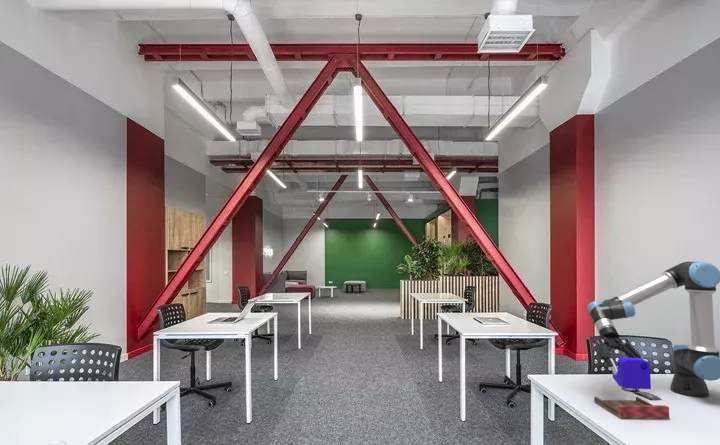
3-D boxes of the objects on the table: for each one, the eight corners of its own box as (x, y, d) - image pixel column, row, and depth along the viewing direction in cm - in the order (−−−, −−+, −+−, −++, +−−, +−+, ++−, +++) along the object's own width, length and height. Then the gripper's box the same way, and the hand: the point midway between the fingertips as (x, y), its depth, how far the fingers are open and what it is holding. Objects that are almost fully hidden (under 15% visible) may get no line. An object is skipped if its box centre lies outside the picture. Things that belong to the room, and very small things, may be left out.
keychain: (648, 401, 199) (648, 397, 199) (617, 388, 218) (617, 384, 218) (663, 400, 200) (663, 396, 200) (630, 388, 219) (630, 384, 219)
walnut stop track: (637, 402, 196) (637, 391, 196) (669, 419, 176) (668, 407, 176) (594, 402, 196) (594, 391, 196) (620, 419, 176) (620, 406, 176)
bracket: (650, 389, 180) (649, 360, 180) (623, 388, 180) (622, 359, 181) (627, 376, 197) (626, 351, 198) (603, 376, 198) (602, 350, 199)
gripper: (627, 335, 206) (650, 378, 189) (580, 334, 206) (599, 377, 189) (634, 326, 201) (658, 369, 184) (586, 325, 201) (606, 368, 184)
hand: (628, 373), depth 186 cm, fingers closed on bracket, 10 cm apart
